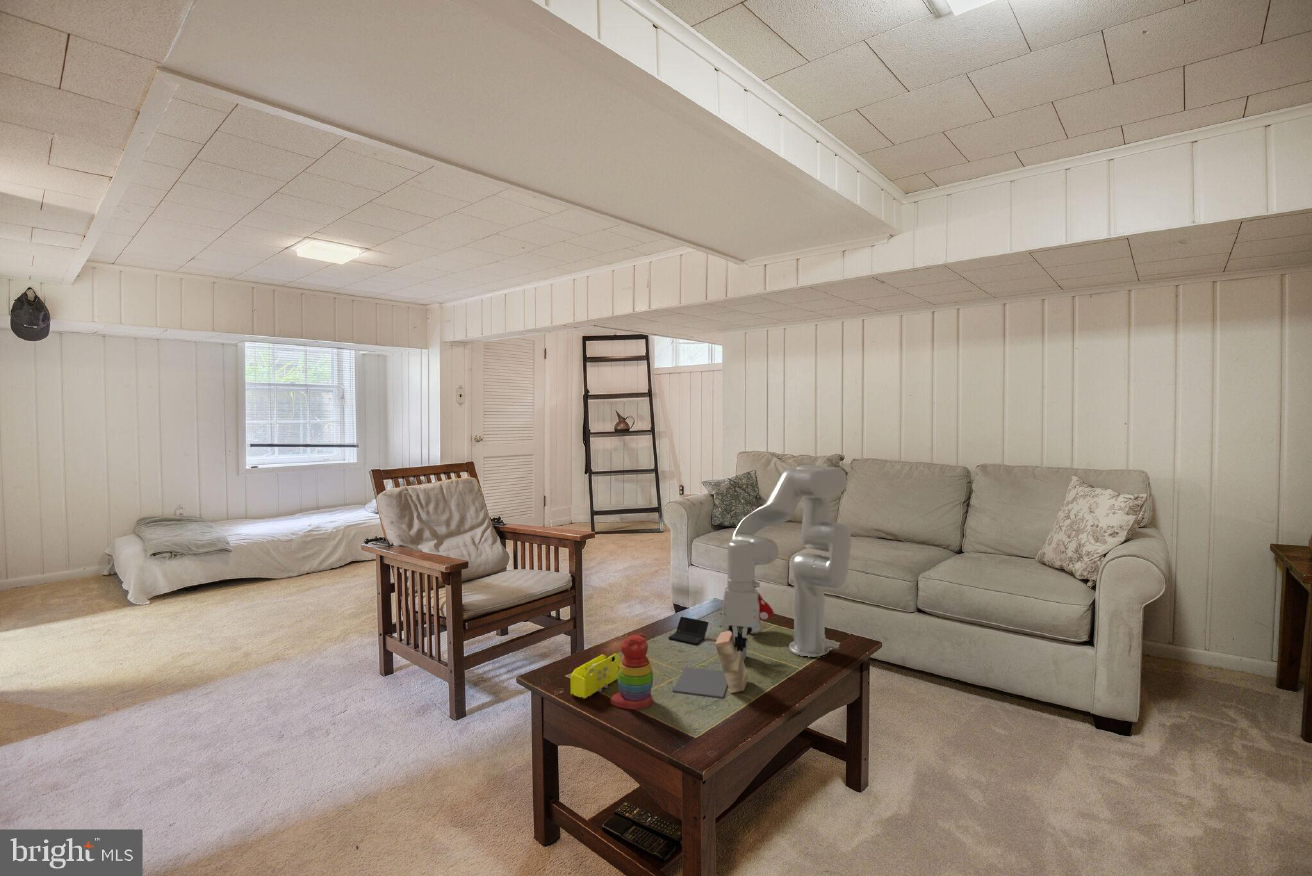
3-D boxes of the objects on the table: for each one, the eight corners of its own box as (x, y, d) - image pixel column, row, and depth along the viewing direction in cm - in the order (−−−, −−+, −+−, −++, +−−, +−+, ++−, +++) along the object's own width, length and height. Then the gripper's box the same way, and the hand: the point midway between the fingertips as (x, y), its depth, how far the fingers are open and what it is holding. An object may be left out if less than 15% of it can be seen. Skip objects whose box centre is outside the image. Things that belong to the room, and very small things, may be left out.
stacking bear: (633, 688, 171) (633, 626, 171) (661, 699, 165) (661, 634, 164) (606, 702, 163) (606, 637, 162) (635, 714, 157) (635, 646, 156)
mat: (731, 673, 181) (731, 672, 181) (722, 698, 166) (722, 696, 166) (685, 668, 185) (685, 666, 185) (672, 691, 169) (672, 690, 169)
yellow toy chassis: (586, 702, 164) (585, 671, 163) (569, 696, 167) (569, 666, 167) (621, 680, 177) (621, 651, 177) (605, 675, 180) (605, 647, 180)
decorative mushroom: (781, 638, 209) (781, 594, 208) (743, 642, 205) (744, 598, 205) (763, 624, 223) (763, 583, 222) (728, 627, 219) (728, 586, 218)
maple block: (748, 676, 176) (733, 629, 177) (744, 690, 168) (728, 641, 168) (735, 679, 177) (720, 632, 178) (730, 693, 169) (715, 644, 169)
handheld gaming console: (666, 637, 206) (675, 609, 211) (670, 643, 212) (679, 616, 217) (698, 647, 202) (707, 618, 207) (702, 653, 207) (710, 625, 212)
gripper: (769, 583, 173) (768, 647, 173) (716, 579, 177) (716, 642, 177) (766, 591, 165) (766, 657, 166) (712, 586, 169) (711, 652, 170)
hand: (740, 649), depth 172 cm, fingers closed
